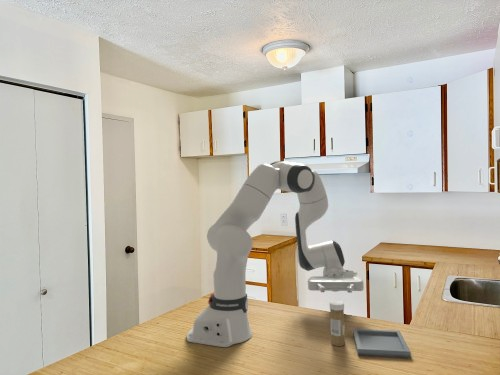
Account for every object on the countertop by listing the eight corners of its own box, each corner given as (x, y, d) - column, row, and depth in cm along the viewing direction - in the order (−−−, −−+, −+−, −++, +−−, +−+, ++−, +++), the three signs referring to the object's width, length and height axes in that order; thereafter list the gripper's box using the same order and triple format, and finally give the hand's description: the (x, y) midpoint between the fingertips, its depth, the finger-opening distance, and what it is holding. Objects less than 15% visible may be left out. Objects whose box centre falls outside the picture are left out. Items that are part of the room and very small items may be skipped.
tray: (357, 355, 111) (357, 348, 111) (353, 334, 126) (353, 328, 126) (410, 358, 108) (410, 351, 108) (399, 336, 123) (399, 330, 123)
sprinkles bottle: (348, 344, 119) (347, 302, 118) (338, 348, 116) (337, 305, 116) (337, 339, 123) (336, 299, 122) (327, 342, 120) (326, 302, 120)
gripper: (307, 271, 147) (306, 281, 133) (360, 271, 143) (365, 281, 129) (308, 287, 147) (306, 298, 133) (361, 287, 143) (365, 299, 129)
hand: (336, 290), depth 131 cm, fingers open, 8 cm apart
